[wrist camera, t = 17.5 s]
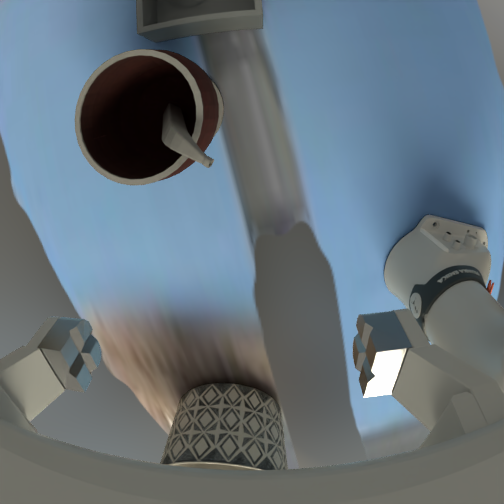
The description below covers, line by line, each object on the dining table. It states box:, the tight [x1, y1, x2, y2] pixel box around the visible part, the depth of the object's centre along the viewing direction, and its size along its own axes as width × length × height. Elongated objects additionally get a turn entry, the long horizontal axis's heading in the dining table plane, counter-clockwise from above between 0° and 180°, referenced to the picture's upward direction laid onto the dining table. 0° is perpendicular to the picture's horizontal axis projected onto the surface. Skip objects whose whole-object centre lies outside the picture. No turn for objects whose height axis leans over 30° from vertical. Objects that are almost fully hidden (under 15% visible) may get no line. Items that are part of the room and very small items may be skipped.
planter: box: [160, 383, 288, 470], centre depth 58 cm, size 26×26×22 cm
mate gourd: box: [75, 49, 224, 185], centre depth 31 cm, size 16×14×20 cm
